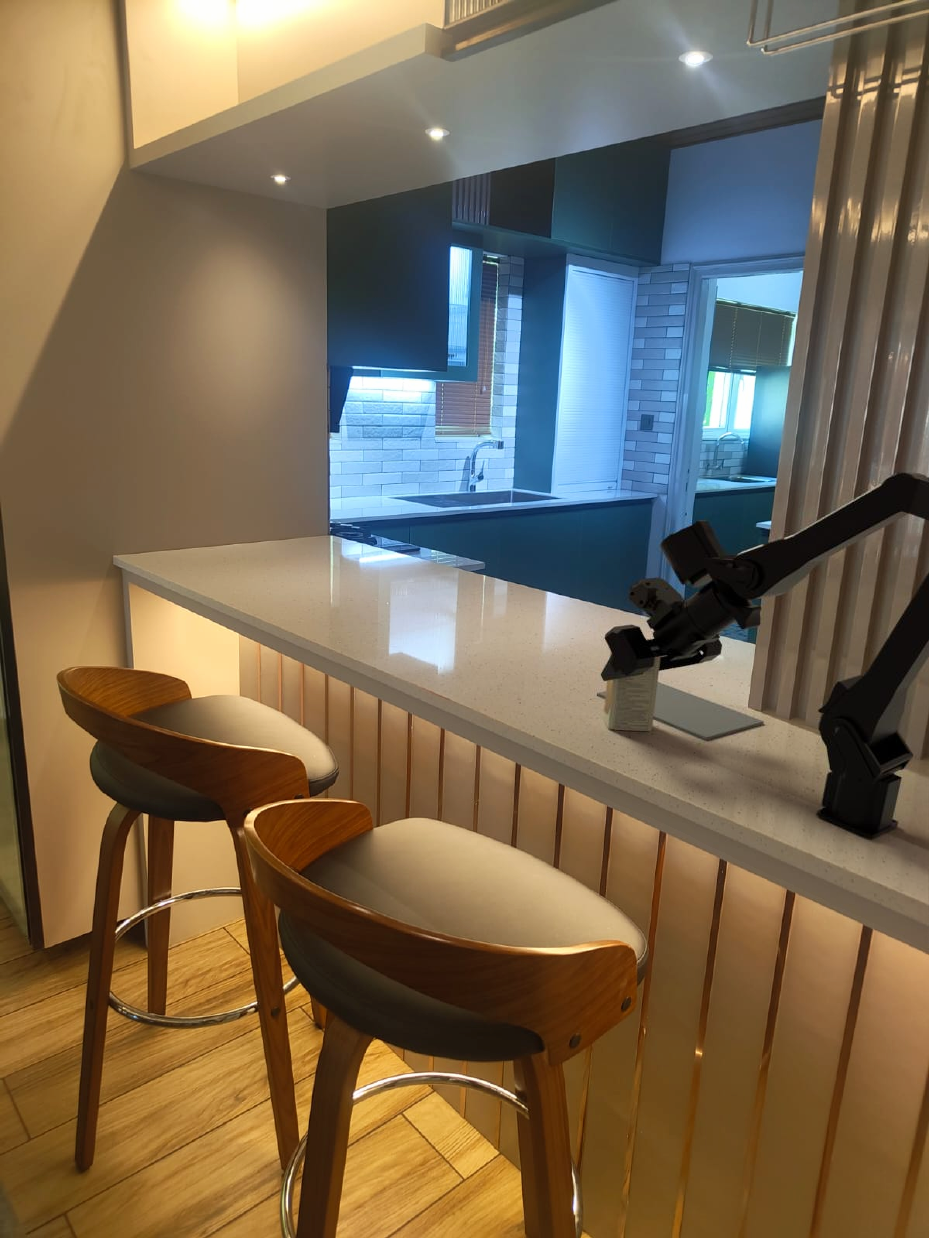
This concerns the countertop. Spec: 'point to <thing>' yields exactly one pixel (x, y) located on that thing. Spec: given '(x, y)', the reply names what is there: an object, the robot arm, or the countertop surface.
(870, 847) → the countertop surface
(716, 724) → the slate mat
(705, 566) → the robot arm
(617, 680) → the skincare box
